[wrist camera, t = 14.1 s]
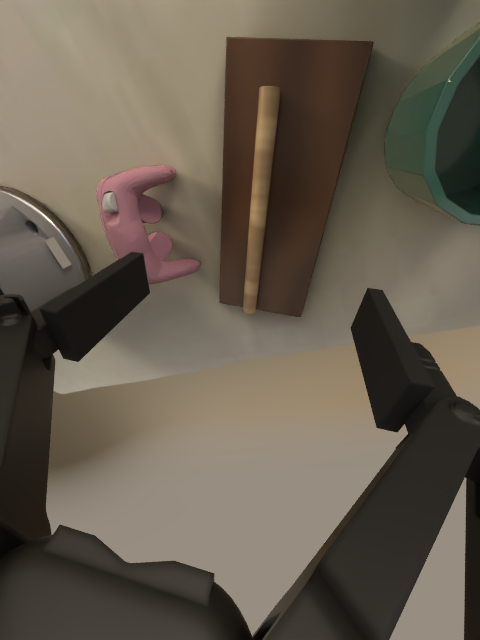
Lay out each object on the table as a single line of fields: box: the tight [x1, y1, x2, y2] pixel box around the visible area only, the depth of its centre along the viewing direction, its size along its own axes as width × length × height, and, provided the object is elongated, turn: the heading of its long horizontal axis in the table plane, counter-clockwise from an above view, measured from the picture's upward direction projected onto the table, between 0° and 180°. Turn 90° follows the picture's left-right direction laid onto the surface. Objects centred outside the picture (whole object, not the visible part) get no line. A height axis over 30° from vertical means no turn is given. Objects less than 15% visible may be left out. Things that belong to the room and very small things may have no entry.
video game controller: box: [97, 165, 201, 284], centre depth 23 cm, size 10×5×7 cm, turn 9°
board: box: [220, 37, 374, 317], centre depth 21 cm, size 9×20×1 cm, turn 175°
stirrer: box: [243, 86, 281, 314], centre depth 21 cm, size 1×13×13 cm
